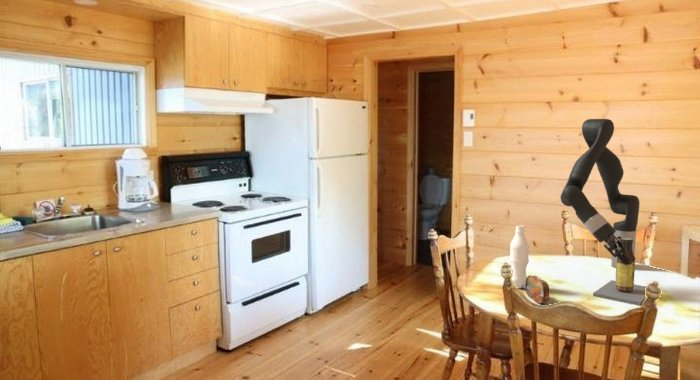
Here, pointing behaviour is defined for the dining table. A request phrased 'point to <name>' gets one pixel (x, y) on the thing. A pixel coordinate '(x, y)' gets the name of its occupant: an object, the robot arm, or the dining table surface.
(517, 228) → the water bottle
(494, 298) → the dining table surface
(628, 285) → the sauce bottle
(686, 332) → the dining table surface
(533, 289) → the tin
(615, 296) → the charcoal board
